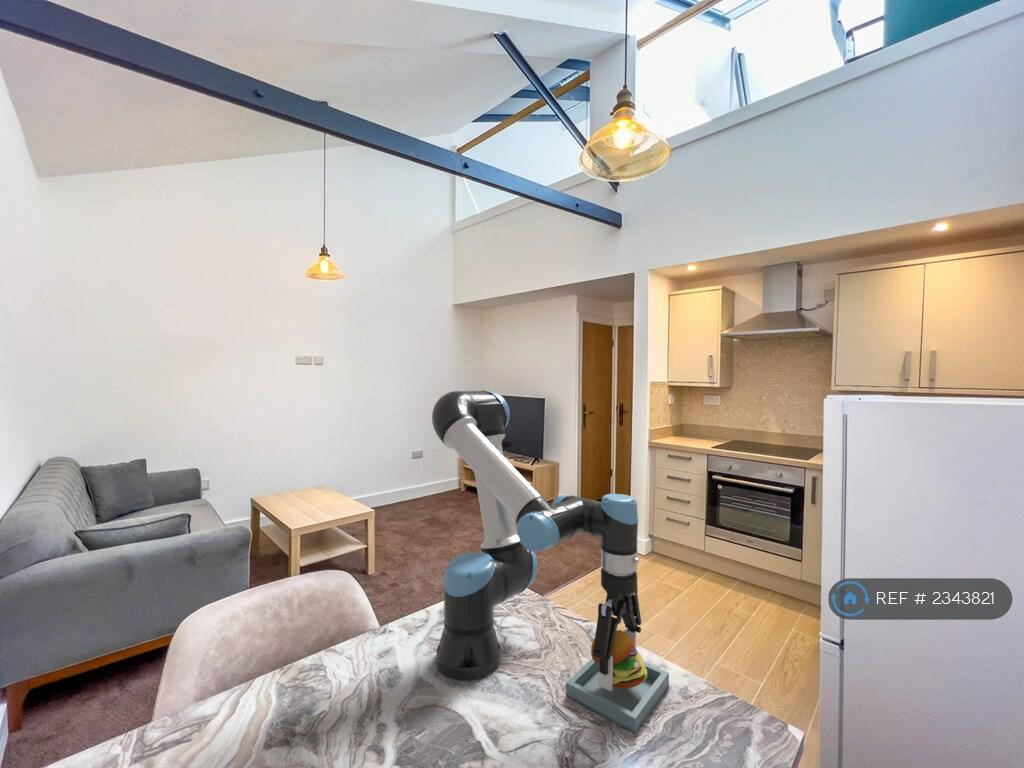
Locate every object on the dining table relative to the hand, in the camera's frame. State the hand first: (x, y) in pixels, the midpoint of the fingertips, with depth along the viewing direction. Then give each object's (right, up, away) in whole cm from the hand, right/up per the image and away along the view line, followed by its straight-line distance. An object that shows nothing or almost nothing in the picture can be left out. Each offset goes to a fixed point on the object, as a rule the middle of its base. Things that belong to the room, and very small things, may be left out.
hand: (618, 673), depth 93 cm
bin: (0, -4, 0) cm, 4 cm away
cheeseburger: (0, -1, 0) cm, 1 cm away
